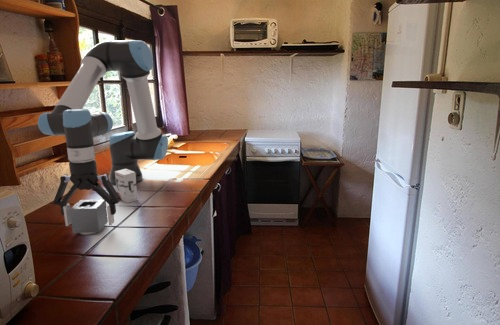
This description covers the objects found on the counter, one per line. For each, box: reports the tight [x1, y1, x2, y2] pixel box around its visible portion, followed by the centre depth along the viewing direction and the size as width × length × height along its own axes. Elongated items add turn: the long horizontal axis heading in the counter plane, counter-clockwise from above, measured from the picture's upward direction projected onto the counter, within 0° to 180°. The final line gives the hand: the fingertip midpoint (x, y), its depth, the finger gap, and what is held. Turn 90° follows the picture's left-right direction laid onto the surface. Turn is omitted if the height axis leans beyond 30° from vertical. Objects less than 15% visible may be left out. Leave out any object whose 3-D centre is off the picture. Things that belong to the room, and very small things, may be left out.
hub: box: [79, 205, 104, 236], centre depth 109 cm, size 7×7×8 cm
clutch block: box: [70, 198, 109, 234], centre depth 109 cm, size 8×8×8 cm
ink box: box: [115, 169, 138, 204], centre depth 137 cm, size 9×5×12 cm, turn 47°
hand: (90, 224), depth 110 cm, fingers open, 13 cm apart
